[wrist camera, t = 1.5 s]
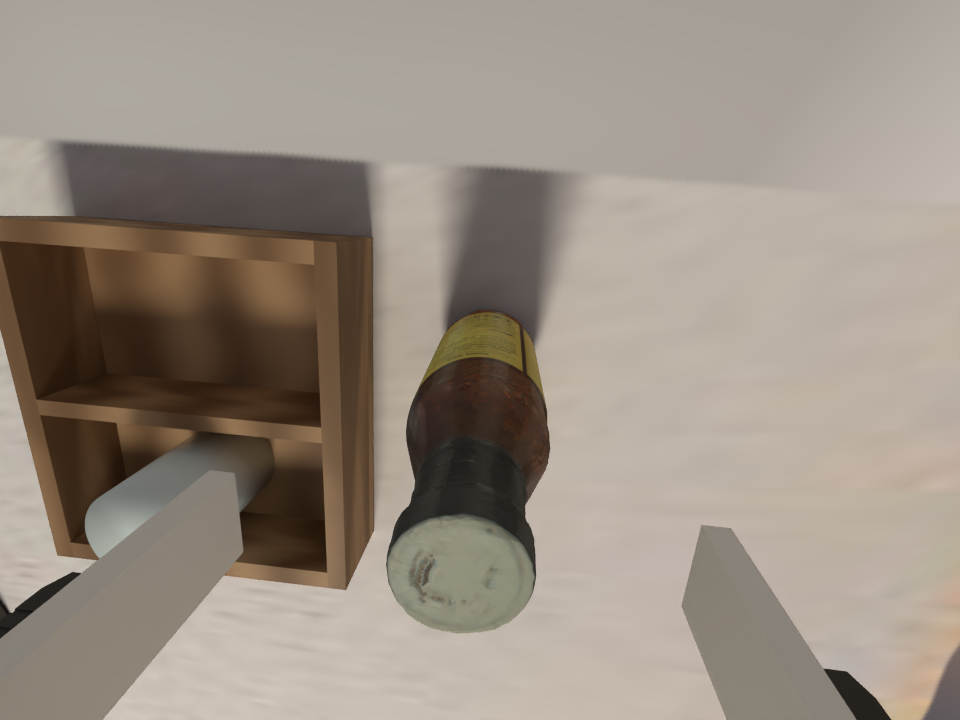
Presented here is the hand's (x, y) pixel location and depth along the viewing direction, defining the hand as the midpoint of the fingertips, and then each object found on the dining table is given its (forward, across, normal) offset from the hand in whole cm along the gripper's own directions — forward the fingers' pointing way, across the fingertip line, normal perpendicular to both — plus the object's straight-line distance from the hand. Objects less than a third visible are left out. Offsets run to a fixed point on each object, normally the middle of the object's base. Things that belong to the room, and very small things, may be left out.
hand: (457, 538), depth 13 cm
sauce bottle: (+19, 0, 0) cm, 19 cm away
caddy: (+18, -18, -4) cm, 26 cm away
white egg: (+17, -18, -9) cm, 27 cm away
